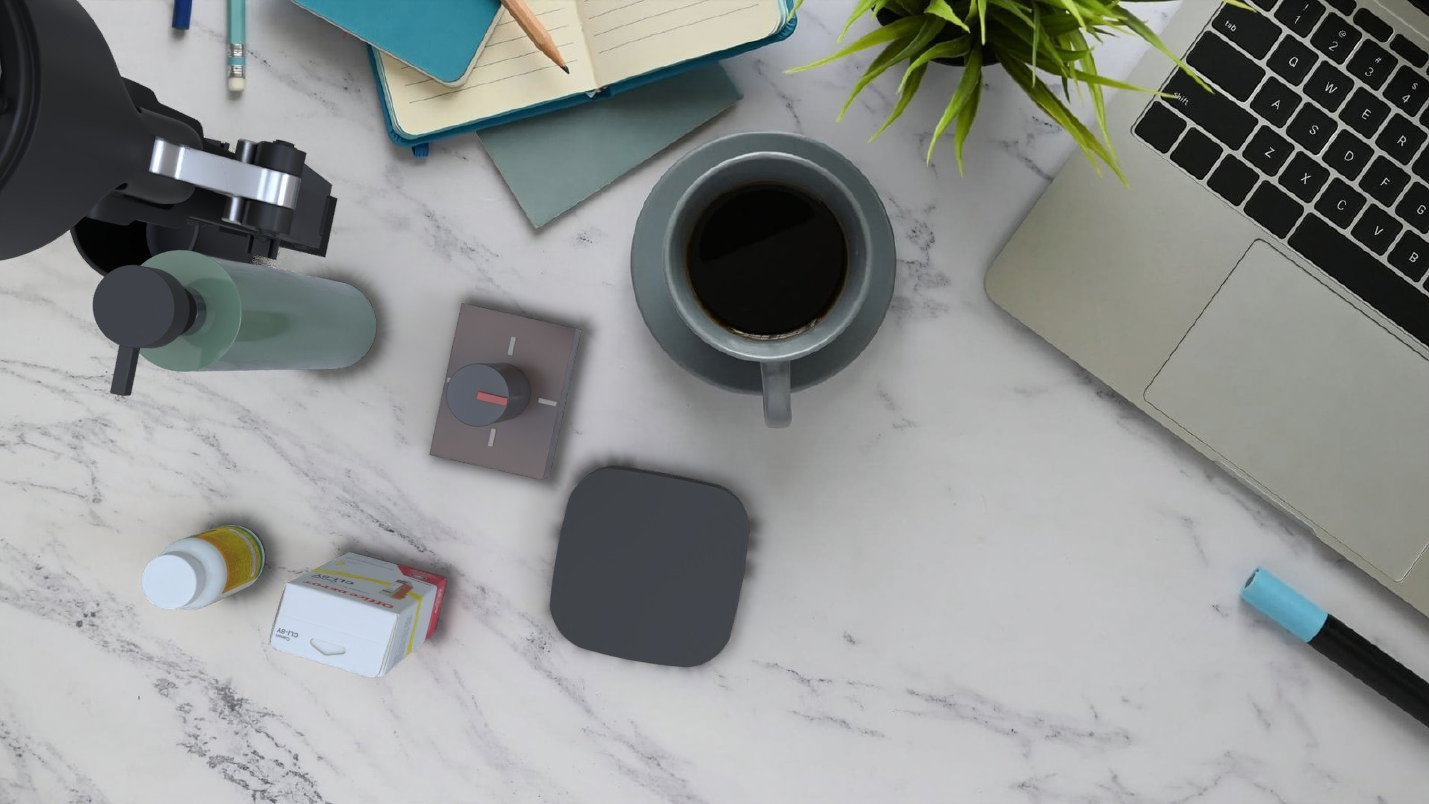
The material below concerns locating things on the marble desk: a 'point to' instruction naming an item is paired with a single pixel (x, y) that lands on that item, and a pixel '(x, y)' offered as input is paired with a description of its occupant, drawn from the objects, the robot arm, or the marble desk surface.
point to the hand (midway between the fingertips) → (315, 224)
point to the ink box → (357, 614)
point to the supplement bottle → (203, 568)
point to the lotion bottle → (261, 318)
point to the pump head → (138, 315)
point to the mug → (149, 242)
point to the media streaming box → (649, 566)
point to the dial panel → (548, 370)
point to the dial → (487, 393)
